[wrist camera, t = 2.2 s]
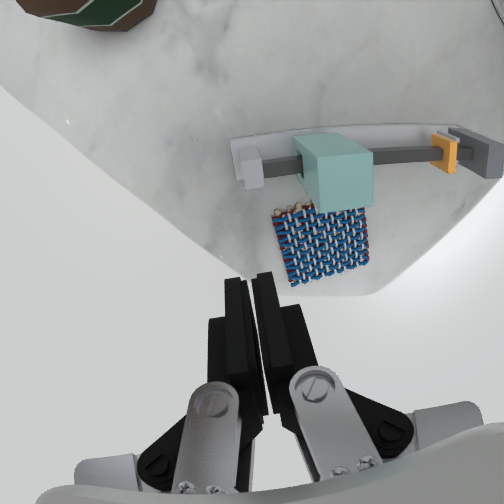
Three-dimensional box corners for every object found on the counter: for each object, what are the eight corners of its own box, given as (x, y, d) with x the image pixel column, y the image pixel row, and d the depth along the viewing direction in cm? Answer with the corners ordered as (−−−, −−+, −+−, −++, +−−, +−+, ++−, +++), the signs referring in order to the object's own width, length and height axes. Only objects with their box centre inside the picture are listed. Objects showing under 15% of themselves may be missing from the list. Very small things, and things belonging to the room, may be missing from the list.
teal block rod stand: (460, 125, 27) (505, 143, 20) (458, 155, 29) (501, 179, 22) (229, 139, 27) (230, 160, 20) (236, 177, 29) (239, 210, 22)
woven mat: (367, 257, 36) (373, 266, 35) (288, 281, 37) (291, 291, 36) (359, 182, 31) (367, 189, 29) (267, 208, 32) (270, 216, 30)
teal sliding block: (336, 132, 24) (372, 152, 18) (338, 173, 26) (372, 206, 20) (293, 136, 24) (316, 157, 18) (297, 179, 26) (320, 213, 20)
